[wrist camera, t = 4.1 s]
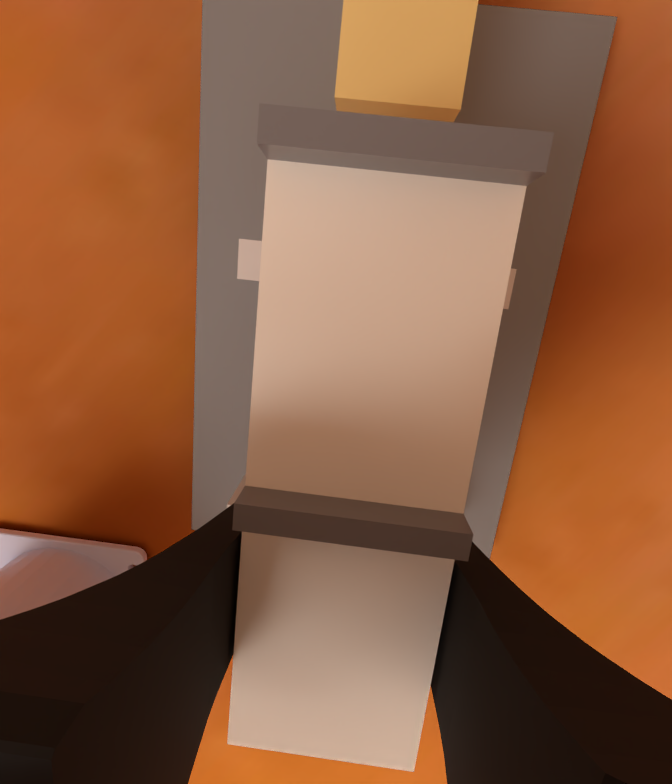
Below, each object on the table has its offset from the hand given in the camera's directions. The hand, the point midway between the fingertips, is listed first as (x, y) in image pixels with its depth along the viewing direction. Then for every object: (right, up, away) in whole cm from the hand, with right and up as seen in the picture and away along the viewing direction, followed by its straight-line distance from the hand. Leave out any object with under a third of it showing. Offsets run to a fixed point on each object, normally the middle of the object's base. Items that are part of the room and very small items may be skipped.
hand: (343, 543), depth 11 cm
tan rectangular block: (+2, +14, +3) cm, 14 cm away
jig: (+1, +7, +6) cm, 10 cm away
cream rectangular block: (0, +3, +1) cm, 3 cm away
